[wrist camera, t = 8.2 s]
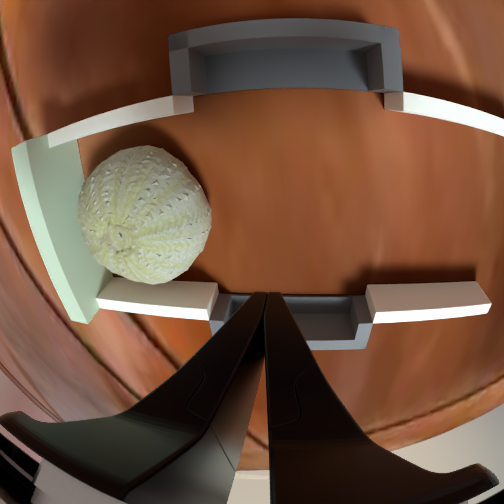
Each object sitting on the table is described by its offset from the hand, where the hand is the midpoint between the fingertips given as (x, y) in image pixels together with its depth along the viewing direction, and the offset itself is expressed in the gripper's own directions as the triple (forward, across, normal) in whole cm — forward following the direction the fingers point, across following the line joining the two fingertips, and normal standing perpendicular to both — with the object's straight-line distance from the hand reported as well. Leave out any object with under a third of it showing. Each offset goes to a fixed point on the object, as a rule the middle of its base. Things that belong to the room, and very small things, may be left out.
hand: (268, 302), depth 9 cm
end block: (+9, +15, 0) cm, 18 cm away
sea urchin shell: (+10, +9, 0) cm, 13 cm away
